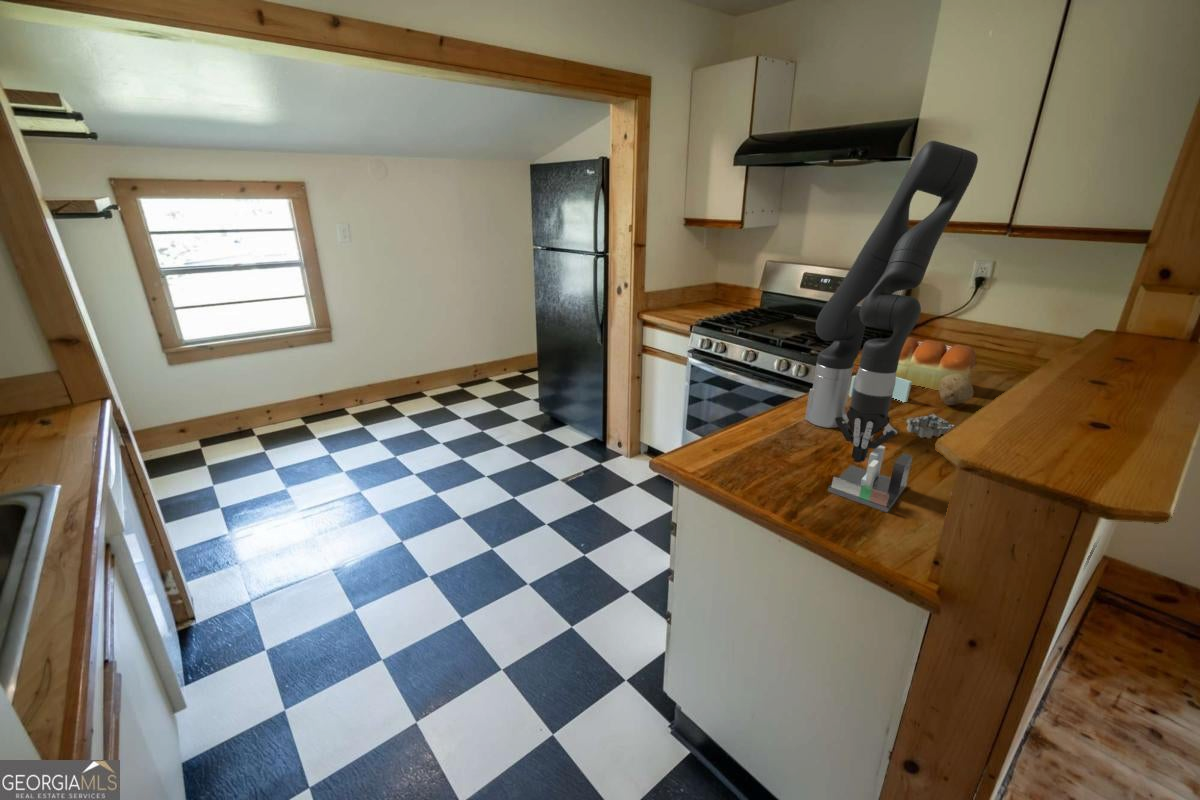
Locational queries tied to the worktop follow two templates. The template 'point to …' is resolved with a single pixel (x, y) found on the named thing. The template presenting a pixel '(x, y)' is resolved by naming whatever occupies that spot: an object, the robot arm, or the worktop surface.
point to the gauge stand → (883, 486)
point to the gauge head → (875, 455)
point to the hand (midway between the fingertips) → (858, 460)
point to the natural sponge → (955, 389)
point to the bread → (933, 362)
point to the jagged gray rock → (934, 428)
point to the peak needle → (871, 473)
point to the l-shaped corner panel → (899, 391)
